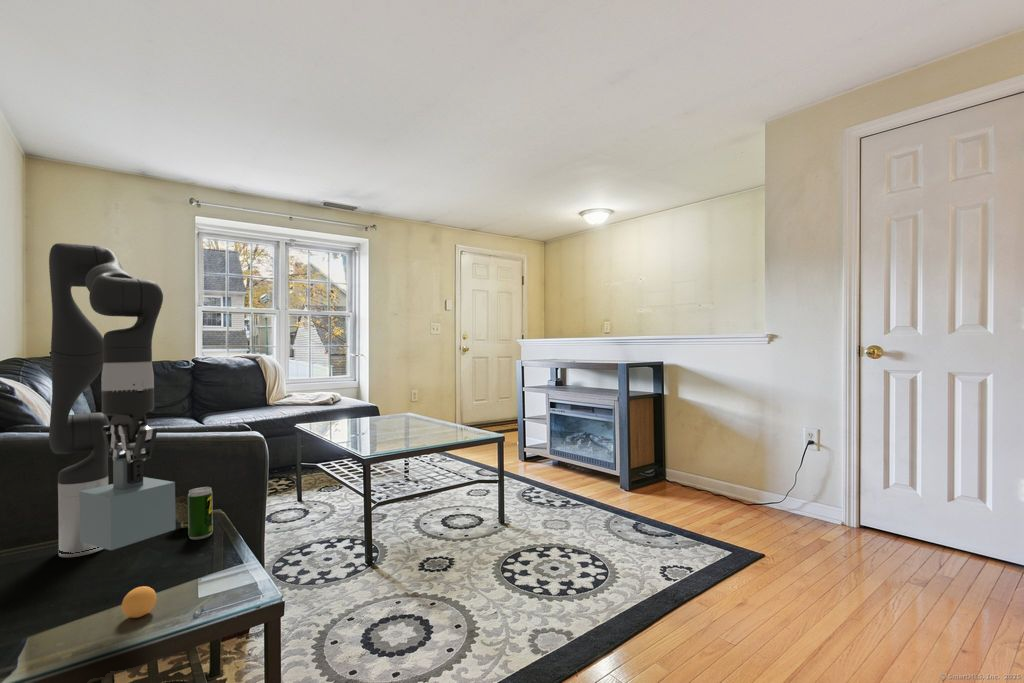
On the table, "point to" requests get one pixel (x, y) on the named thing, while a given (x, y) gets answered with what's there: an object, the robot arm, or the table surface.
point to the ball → (139, 601)
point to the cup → (182, 511)
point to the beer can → (200, 513)
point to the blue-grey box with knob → (126, 510)
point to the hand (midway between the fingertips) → (129, 481)
